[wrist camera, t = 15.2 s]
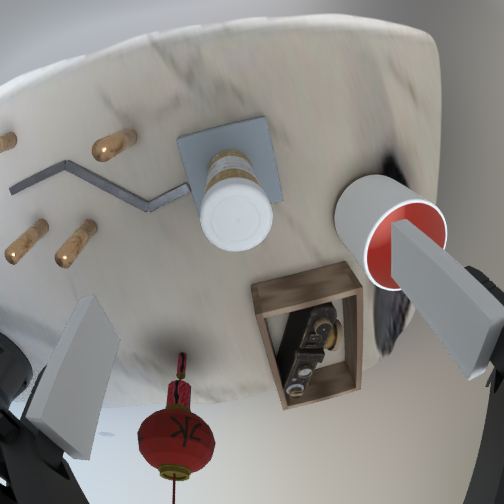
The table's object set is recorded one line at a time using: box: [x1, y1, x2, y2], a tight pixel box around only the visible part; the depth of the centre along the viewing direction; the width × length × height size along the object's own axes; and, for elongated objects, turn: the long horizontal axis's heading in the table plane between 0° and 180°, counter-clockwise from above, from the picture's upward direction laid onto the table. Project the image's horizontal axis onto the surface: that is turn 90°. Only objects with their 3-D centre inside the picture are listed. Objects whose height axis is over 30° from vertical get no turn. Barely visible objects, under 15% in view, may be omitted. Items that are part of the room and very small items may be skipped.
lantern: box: [137, 353, 215, 504], centre depth 32 cm, size 10×10×30 cm
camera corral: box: [251, 261, 363, 410], centre depth 42 cm, size 13×21×6 cm, turn 12°
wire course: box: [0, 129, 191, 268], centre depth 27 cm, size 23×16×8 cm
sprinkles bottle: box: [200, 150, 273, 252], centre depth 25 cm, size 5×5×14 cm
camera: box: [277, 302, 342, 399], centre depth 41 cm, size 16×7×8 cm, turn 170°
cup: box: [334, 175, 447, 291], centre depth 32 cm, size 10×10×10 cm
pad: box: [177, 116, 283, 217], centre depth 32 cm, size 9×9×2 cm
